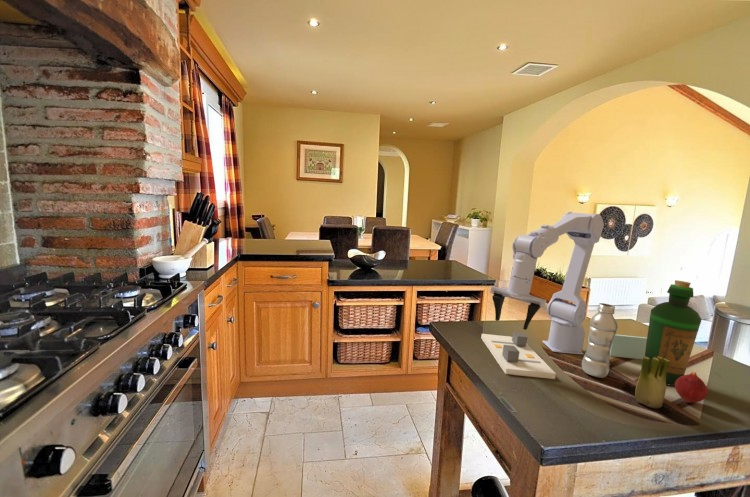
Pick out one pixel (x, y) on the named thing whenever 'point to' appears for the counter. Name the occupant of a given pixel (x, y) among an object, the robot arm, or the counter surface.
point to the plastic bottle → (600, 341)
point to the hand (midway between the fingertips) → (510, 324)
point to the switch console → (526, 363)
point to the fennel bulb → (652, 382)
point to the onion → (691, 388)
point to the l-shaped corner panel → (628, 346)
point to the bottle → (673, 330)
